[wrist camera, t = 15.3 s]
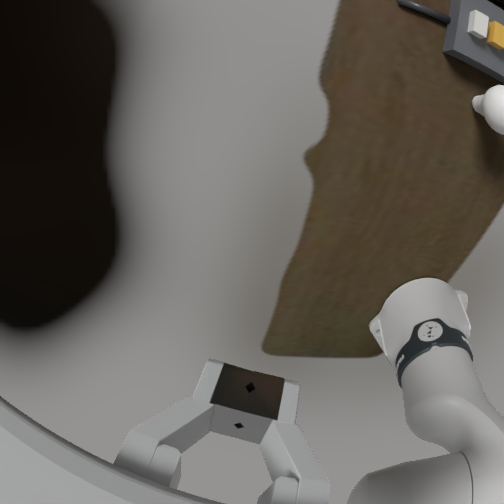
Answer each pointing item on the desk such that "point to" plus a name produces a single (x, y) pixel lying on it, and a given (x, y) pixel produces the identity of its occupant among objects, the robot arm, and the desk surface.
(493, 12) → the breaker strip
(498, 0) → the supplement bottle
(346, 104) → the desk surface
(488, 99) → the lightbulb
